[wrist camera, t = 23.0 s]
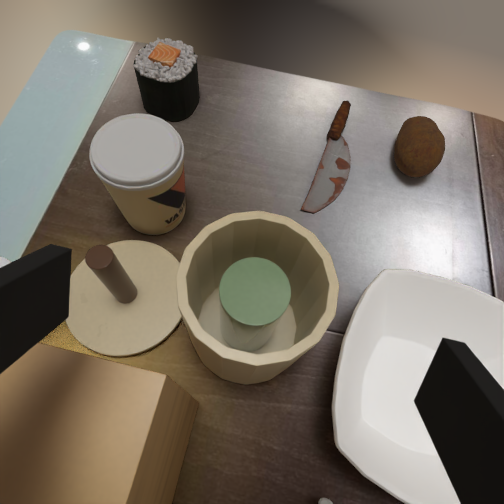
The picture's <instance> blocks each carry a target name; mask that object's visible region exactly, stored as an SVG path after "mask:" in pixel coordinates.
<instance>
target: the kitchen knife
mask: <svg viewBox="0 0 504 504" xmlns="http://www.w3.org/2000/svg"><path fill="white" fill-rule="evenodd" d="M350 106H351V104H350V103H349V101H343V102H342V104H341V106H340V108H339V109H338V111H337V113H336V115H335V118H334V120H333V122H332V124H331V127H330V130H329V132H328V134H327V139H328V142H327V145H326V148H325V150H324V153H323V156H322V158H321V161H320V164H319V166H318V169H317V172H316V174H315V177H314V180H313V182H312V185H311V188H310V190H309V193H308V195H307V198H306V200H305V202H304V204H303V206H302V208H301V210H304V211H308V212H312V213H315V212H317V211H319V210H321V209H322V208H324V207H326V206H327V205H328V204H330V203H331V202H333V201H334V200H335V199H336V197H337V196H338V195H339V194H340V192H341V191H342V190H343V187H344V185H345V183H346V181H347V179H348V174H349V170H350V152H349V148H348V144H347V143H346V141H345V140H344V138H343V137H342V136H341V132H342V130H343V129H344V127H345V124H346V121H347V118H348V114H349V110H350Z"/></svg>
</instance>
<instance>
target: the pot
mask: <svg viewBox="0 0 504 504" xmlns="http://www.w3.org/2000/svg"><path fill="white" fill-rule="evenodd" d="M250 257H258V258H264V259H267V260H269V261H271V262H273V263H275V264H276V265H278V266H279V267H280V268H281V269H282V270H283V271H284V273H285V274H286V276H287V278H288V280H289V283H290V287H291V299H290V302H289V305H288V307H287V309H286V311H285V313H284V314H283V316H282V318H281V320H280V322H279V323H278V325H277V327H276V329H275V330H274V332H273V334H272V336H271V337H270V339H269V341H268V342H267V343H266V344H265V345H264V346H263V347H262V348H260V349H258V350H256V351H253V352H245V351H241V350H237V349H233V348H232V347H230V346H229V345H228V344H227V343H226V342H225V340H224V339H223V337H222V334H221V331H220V310H219V285H220V281H221V278H222V276H223V274H224V273H225V271H226V270H227V269H228V268H229V267H230V266H231V265H232V264H234V263H235V262H237V261H239V260H241V259H244V258H250ZM176 288H177V300H178V308H179V311H180V313H181V316H182V319H183V321H184V324H185V326H186V329H187V332H188V334H189V337H190V339H191V342H192V345H193V347H194V348H195V350H196V352H197V354H198V356H199V357H200V359H201V361H202V363H203V364H204V365H205V366H206V367H207V368H208V369H210V370H211V371H212V372H213V373H214V374H216V375H217V376H219V377H220V378H221V379H224V380H227V381H231V382H234V383H239V384H244V385H248V384H255V383H260V382H265V381H269V380H271V379H272V378H274V377H275V376H277V375H278V374H280V373H281V372H283V371H284V370H286V369H287V368H288V367H289V366H291V365H292V364H293V363H294V362H295V361H297V360H298V359H299V358H300V357H301V356H303V355H304V354H305V353H306V352H307V351H309V350H310V349H311V348H312V347H313V346H315V345H316V344H317V343H318V342H319V341H320V339H321V338H322V336H323V335H324V333H325V331H326V330H327V328H328V326H329V325H330V323H331V322H332V320H333V318H334V317H335V314H336V307H337V299H338V291H339V283H338V279H337V276H336V272H335V269H334V265H333V262H332V258H331V256H330V254H329V253H328V252H327V250H326V249H325V248H324V246H323V245H322V244H321V243H320V241H319V240H318V239H317V237H316V236H315V235H314V233H312V232H310V231H309V230H307V229H306V228H304V227H303V226H301V225H299V224H298V223H296V222H295V221H293V220H292V219H290V218H288V217H285V216H280V215H276V214H272V213H268V212H263V211H252V212H242V213H233V214H229V215H227V216H225V217H223V218H221V219H219V220H217V221H215V222H213V223H211V224H209V225H207V226H205V227H204V228H203V229H202V231H201V232H200V233H199V234H198V235H197V236H196V237H195V238H194V239H193V241H192V242H191V243H190V244H189V245H188V246H187V247H186V249H185V251H184V253H183V256H182V259H181V262H180V265H179V268H178V271H177V274H176Z"/></svg>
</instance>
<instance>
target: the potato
mask: <svg viewBox="0 0 504 504" xmlns="http://www.w3.org/2000/svg"><path fill="white" fill-rule="evenodd" d="M444 151H445V139H444V136H443V134H442V133H441V131H440V130H439V129H438V127H437V125H436V123H435V122H434V121H433V120H431V119H430V118H427V117H422V116H417V117H412V118H409V119H407V120H406V121H405V122H404V123H403V125H402V127H401V129H400V131H399V134H398V137H397V140H396V143H395V150H394V159H395V163H396V165H397V167H398V168H399V170H400V171H401V172H403V173H404V174H405V175H408V176H410V177H422V176H425V175H427V174H429V173H431V172H432V171H433V170H434V169H435V168H436V167H437V166H438V165H439V163H440V162H441V160H442V157H443V154H444Z"/></svg>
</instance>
